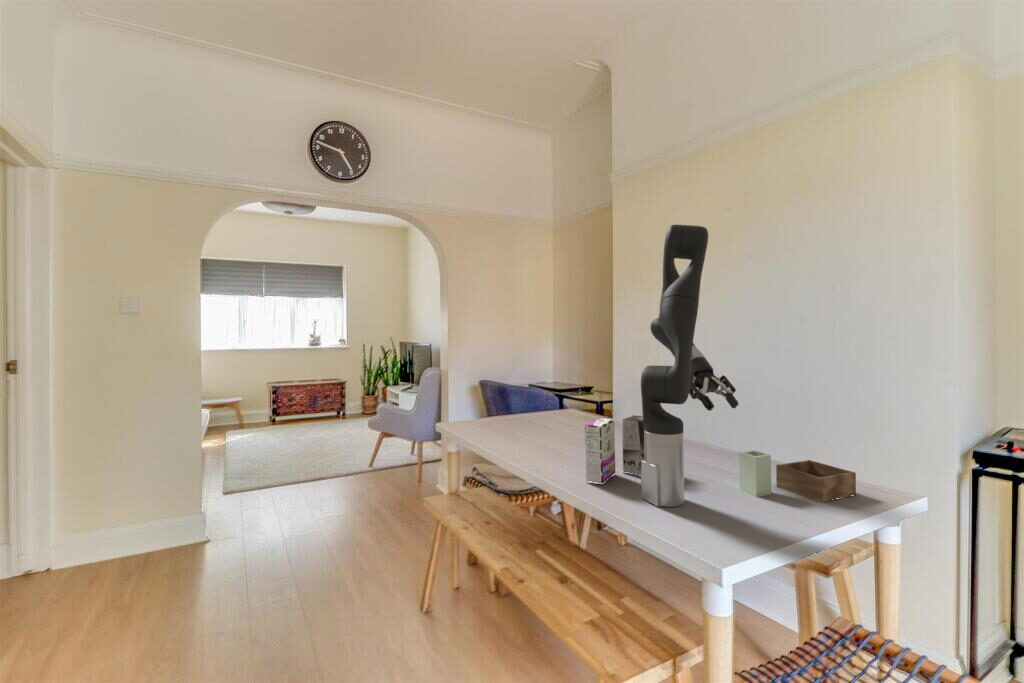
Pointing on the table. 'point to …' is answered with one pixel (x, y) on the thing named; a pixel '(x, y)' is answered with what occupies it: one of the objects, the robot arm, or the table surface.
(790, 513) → the table surface
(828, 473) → the walnut crate
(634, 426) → the coffee box
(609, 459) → the candy bar box
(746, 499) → the table surface
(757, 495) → the green square vase
